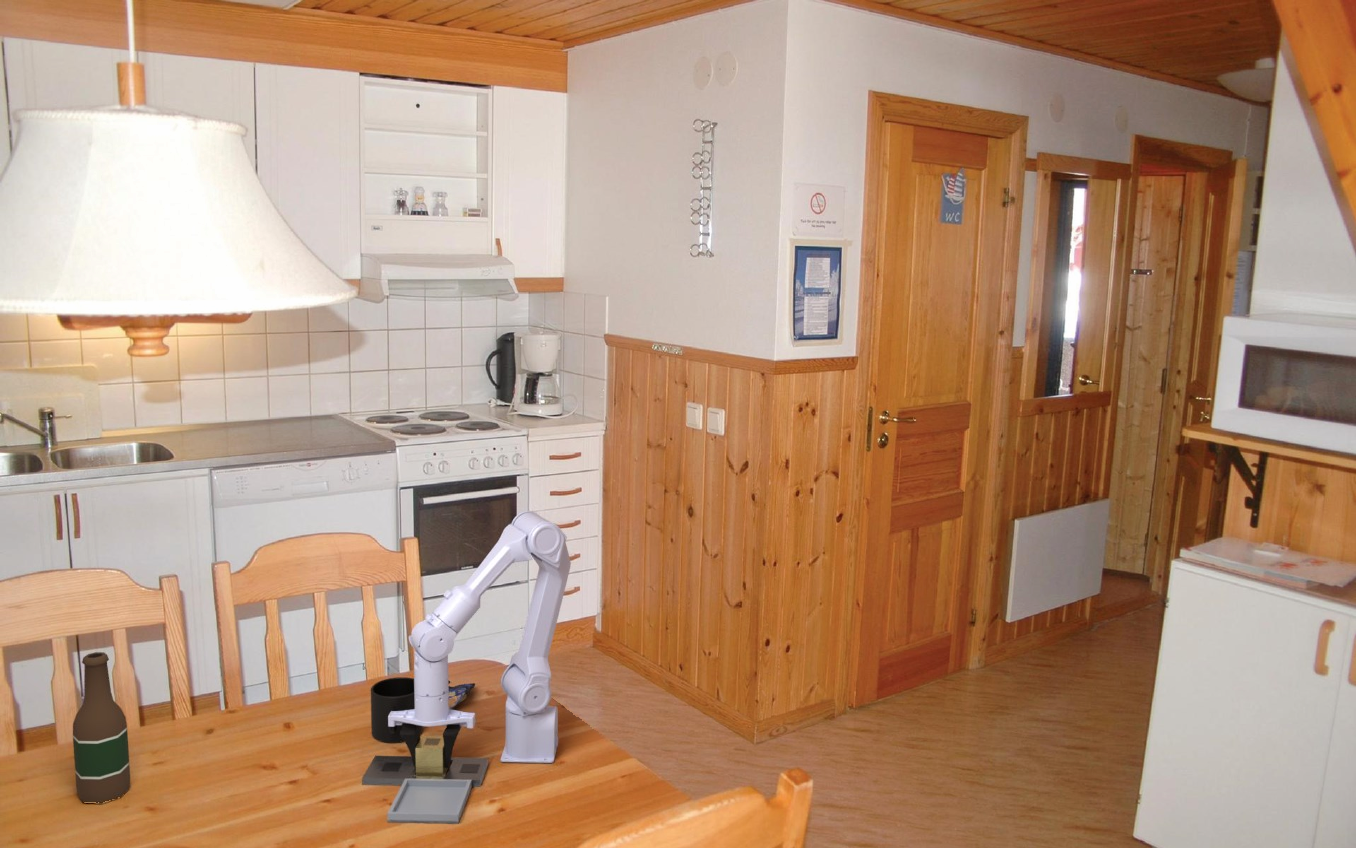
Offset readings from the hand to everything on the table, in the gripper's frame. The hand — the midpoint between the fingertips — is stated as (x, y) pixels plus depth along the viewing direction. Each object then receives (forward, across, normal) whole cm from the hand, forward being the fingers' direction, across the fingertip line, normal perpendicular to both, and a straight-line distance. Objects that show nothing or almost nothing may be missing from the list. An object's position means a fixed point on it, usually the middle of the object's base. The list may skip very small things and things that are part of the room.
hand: (432, 764), depth 177 cm
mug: (+2, +10, -14) cm, 18 cm away
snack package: (+2, +3, -30) cm, 31 cm away
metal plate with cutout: (+2, +1, 0) cm, 2 cm away
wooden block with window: (+2, 0, 0) cm, 2 cm away
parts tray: (+2, -2, +10) cm, 10 cm away
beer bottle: (+2, +52, +8) cm, 53 cm away
